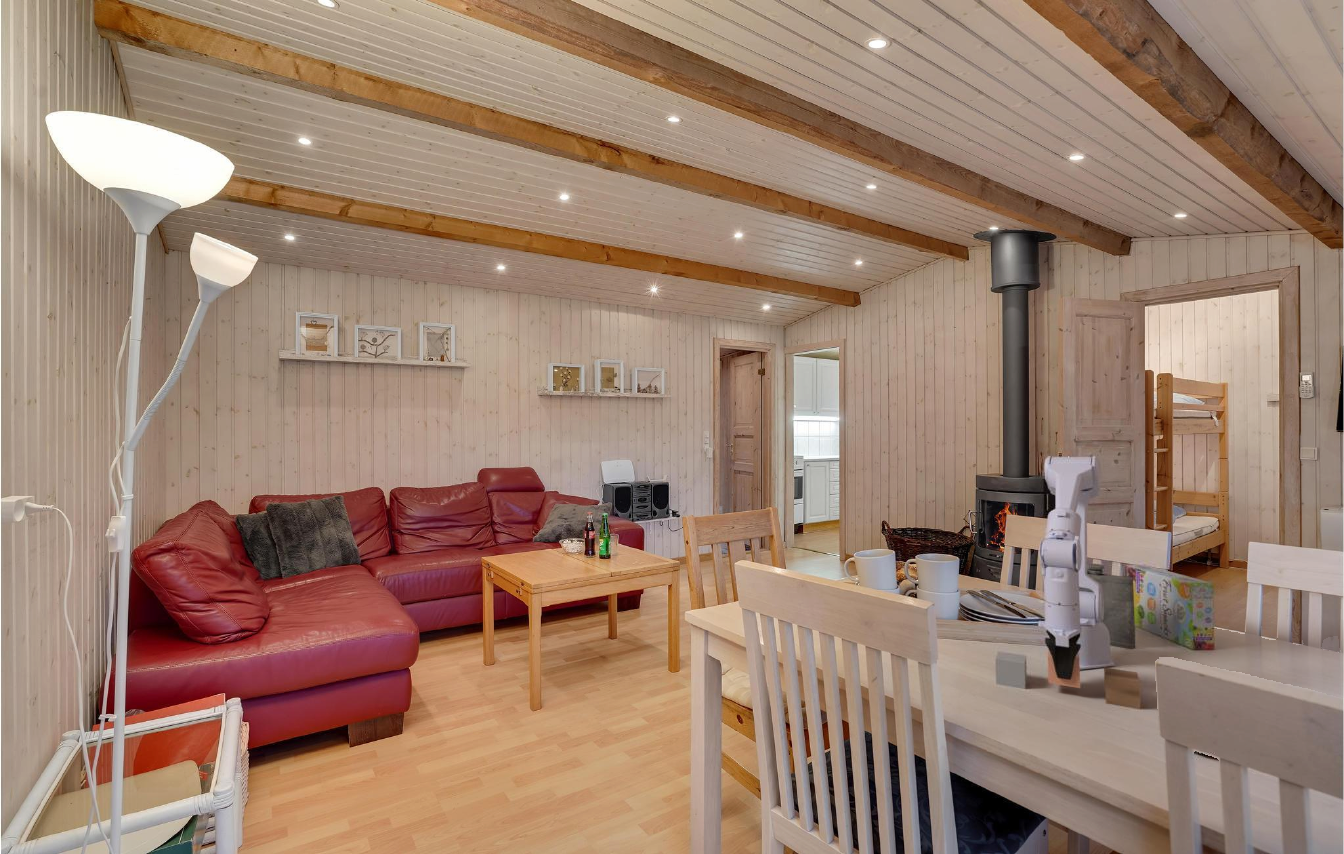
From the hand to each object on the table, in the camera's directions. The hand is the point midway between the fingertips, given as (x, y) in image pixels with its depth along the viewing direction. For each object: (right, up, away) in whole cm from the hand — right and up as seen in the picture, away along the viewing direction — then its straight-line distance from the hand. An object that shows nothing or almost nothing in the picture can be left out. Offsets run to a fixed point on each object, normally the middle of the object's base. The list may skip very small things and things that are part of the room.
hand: (1064, 673), depth 118 cm
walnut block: (+8, -3, -5) cm, 10 cm away
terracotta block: (0, -1, 0) cm, 1 cm away
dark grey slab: (+25, -4, +27) cm, 37 cm away
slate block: (-7, -4, +5) cm, 10 cm away
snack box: (+44, -3, +30) cm, 54 cm away
